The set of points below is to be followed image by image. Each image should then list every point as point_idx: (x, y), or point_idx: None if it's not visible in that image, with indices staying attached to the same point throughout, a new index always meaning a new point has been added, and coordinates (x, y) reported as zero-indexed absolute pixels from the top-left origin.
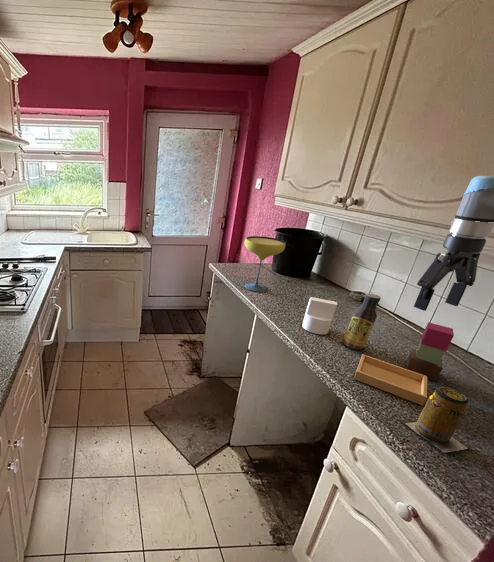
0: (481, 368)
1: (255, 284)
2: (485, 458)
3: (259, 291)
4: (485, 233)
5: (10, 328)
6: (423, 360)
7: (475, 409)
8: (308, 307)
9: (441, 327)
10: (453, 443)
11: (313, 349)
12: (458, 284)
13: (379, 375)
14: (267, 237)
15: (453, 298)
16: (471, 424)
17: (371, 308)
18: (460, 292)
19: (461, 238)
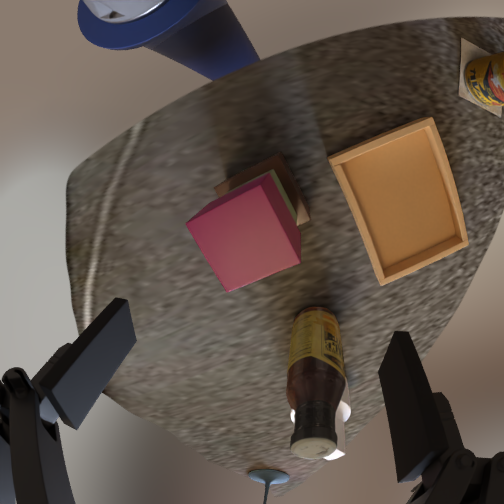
0: (101, 158)
1: (270, 482)
2: (452, 19)
3: (277, 471)
4: None
5: None
6: (289, 198)
7: (313, 60)
8: (344, 436)
9: (227, 246)
10: (472, 54)
11: (418, 335)
12: (68, 413)
13: (410, 218)
14: None
15: (113, 343)
16: (384, 46)
17: (329, 407)
18: (83, 361)
19: None
